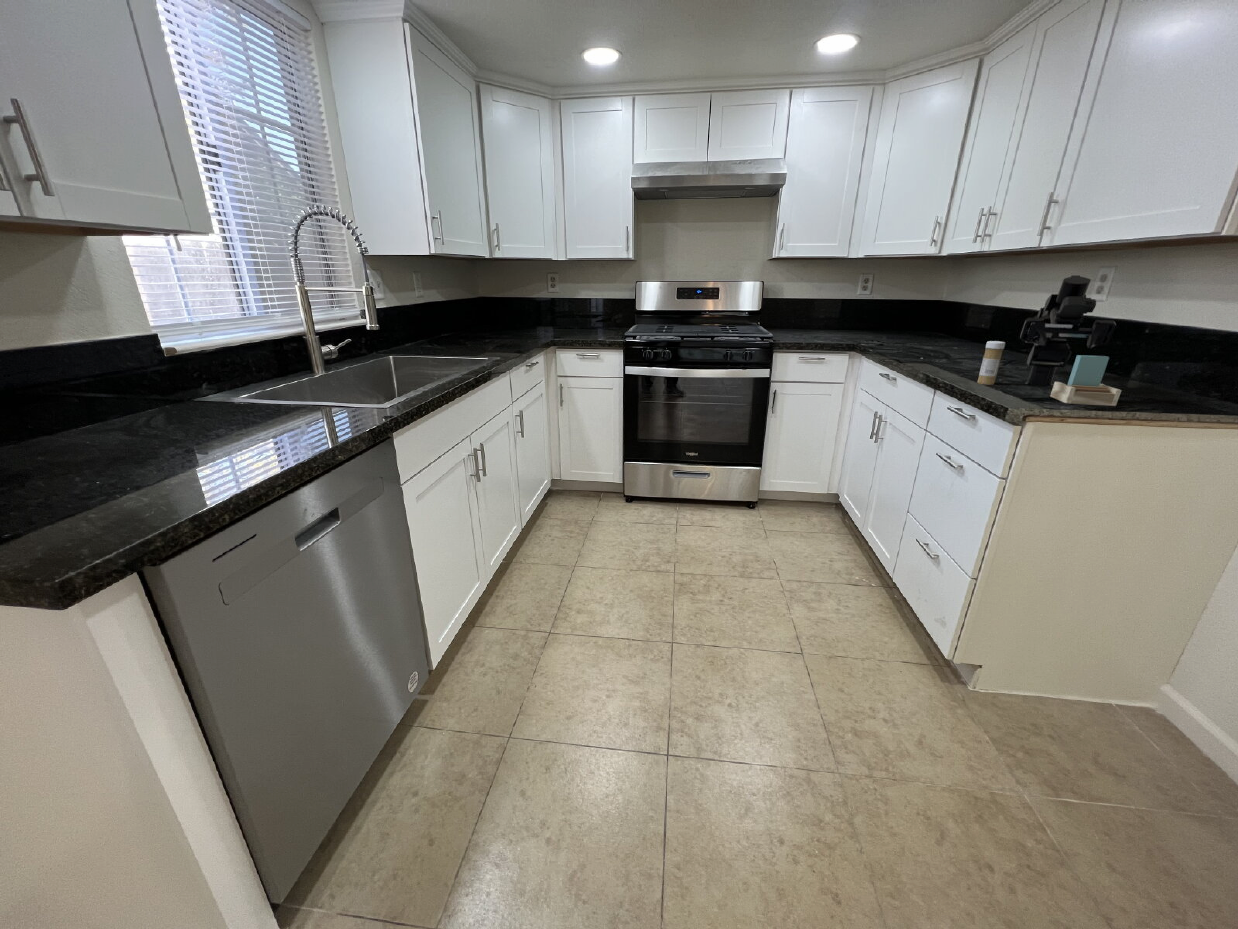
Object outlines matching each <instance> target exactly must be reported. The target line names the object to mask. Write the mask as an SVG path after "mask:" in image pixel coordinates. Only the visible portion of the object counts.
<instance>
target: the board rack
mask: <svg viewBox="0 0 1238 929" xmlns="http://www.w3.org/2000/svg"><path fill="white" fill-rule="evenodd" d="M1053 384H1054V385H1052V390H1051V393H1050V397H1051V398H1053V399H1055V400H1058V401H1060V402H1062V403H1065V404H1070V405H1071V404H1074V405H1089V406H1090V405H1091V406H1092V405H1093V406H1094V405H1095V406H1112V407H1116V406H1117V404H1118V401H1119V398H1120V395H1121V393H1122V390H1121V389H1119V388H1116V387H1112V386H1109V385H1107V384H1104V383H1100V385H1099V386H1104V387H1107V389H1108V390H1110V393H1100V392H1079V391H1075V389H1076V388H1074V387H1071V386H1069V385H1067V384H1066V383H1064V382H1060V381H1054V383H1053Z"/></svg>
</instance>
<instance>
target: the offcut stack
mask: <svg viewBox="0 0 1238 929" xmlns="http://www.w3.org/2000/svg"><path fill="white" fill-rule="evenodd" d="M1069 386H1071V387H1074V388H1076V389H1075V391H1079V392H1100V393H1110V390H1108V389H1107V387H1104V386H1082V385H1069Z"/></svg>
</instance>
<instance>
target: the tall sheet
mask: <svg viewBox="0 0 1238 929" xmlns="http://www.w3.org/2000/svg"><path fill="white" fill-rule="evenodd" d="M1109 360H1110V357H1109V356H1105V355H1084V354H1083V355H1081V354H1080V355H1079V354H1078V355H1077V354H1076V357H1075V361H1074V363H1073V366H1072V369H1071V373H1070V376H1069V378H1068V381H1067V384H1066V385H1082V386H1099V385H1100V384H1102V383H1101V382H1102V381H1103V380H1102V379H1103V377H1104V374H1105V371H1106V368H1107V365H1108V362H1109Z"/></svg>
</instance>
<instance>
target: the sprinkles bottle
mask: <svg viewBox="0 0 1238 929" xmlns="http://www.w3.org/2000/svg"><path fill="white" fill-rule="evenodd" d="M1005 346H1006V342H1005V341H999V340H994V341H993V340H989V341H987V342H986V344H985V351H984V354H983V357H982V361H981V366H980V370H979V374H978V379H977V381H976V383H977V384H980V385H989V386H991V385H993V386H994V385H995V381H996V378H997V375H998V371H999V368H1000V364H1001V359H1002V356H1003V351H1004V349H1005Z"/></svg>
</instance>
